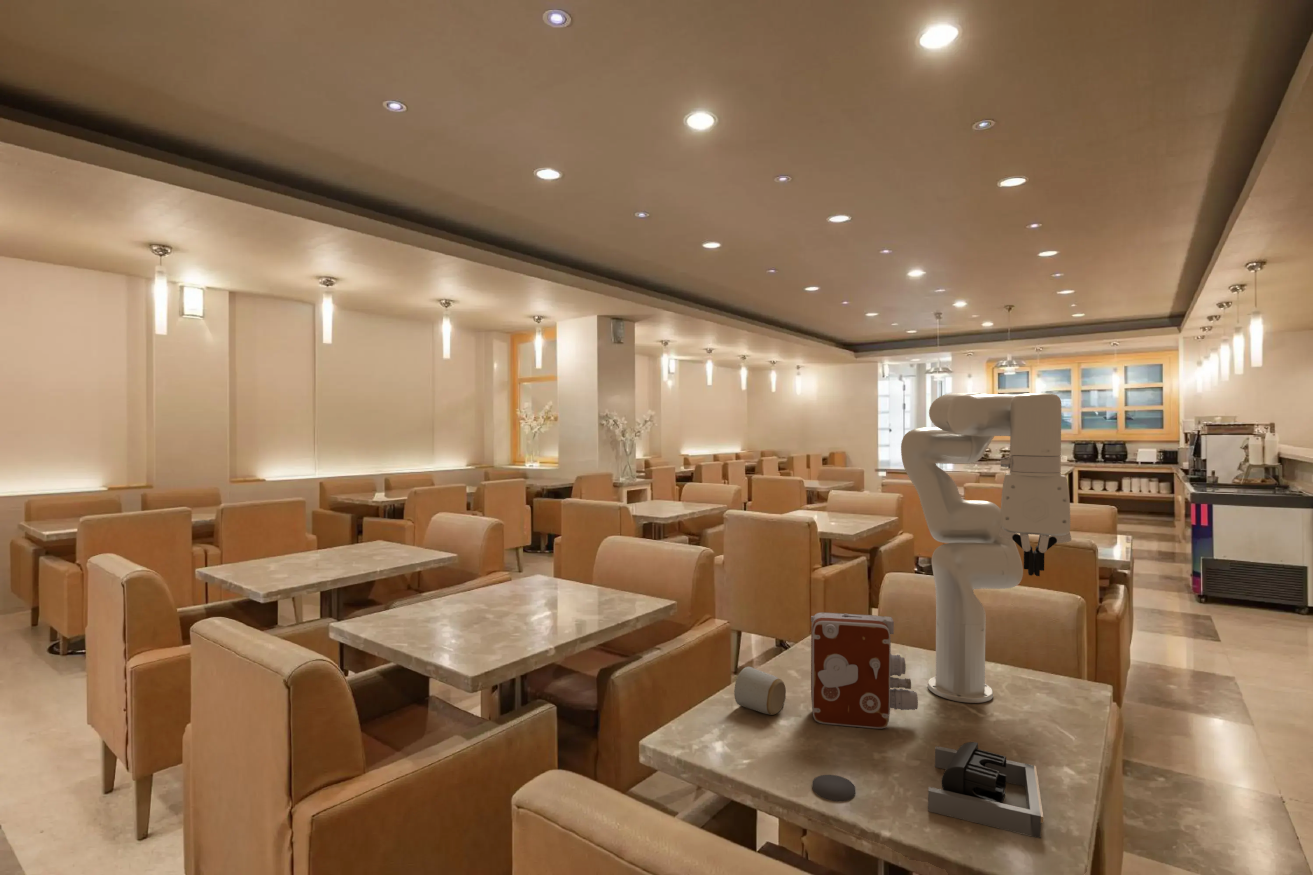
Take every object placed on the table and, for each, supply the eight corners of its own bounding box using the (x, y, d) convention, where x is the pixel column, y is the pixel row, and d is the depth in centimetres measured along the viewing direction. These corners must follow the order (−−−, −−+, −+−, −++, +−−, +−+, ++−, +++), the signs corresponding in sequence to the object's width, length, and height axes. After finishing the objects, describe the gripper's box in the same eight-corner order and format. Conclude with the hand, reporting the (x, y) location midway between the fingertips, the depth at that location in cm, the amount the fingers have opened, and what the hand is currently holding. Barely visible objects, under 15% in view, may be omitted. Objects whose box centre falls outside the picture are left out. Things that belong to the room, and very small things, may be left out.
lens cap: (817, 777, 107) (817, 770, 107) (858, 786, 104) (858, 780, 104) (807, 796, 101) (808, 790, 101) (851, 807, 98) (851, 800, 98)
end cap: (956, 778, 106) (957, 736, 106) (1006, 793, 102) (1006, 749, 102) (940, 807, 98) (941, 761, 98) (993, 824, 94) (994, 776, 94)
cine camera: (921, 736, 120) (922, 626, 120) (811, 726, 124) (812, 620, 124) (912, 715, 129) (913, 613, 129) (810, 706, 133) (810, 607, 133)
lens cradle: (935, 763, 110) (935, 745, 110) (1035, 784, 104) (1035, 765, 104) (928, 811, 97) (928, 790, 97) (1043, 838, 90) (1043, 816, 90)
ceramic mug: (769, 721, 126) (770, 681, 126) (732, 710, 131) (733, 671, 131) (795, 704, 134) (796, 666, 134) (760, 694, 139) (760, 658, 139)
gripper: (985, 466, 113) (984, 574, 113) (1090, 468, 106) (1088, 583, 106) (985, 464, 119) (984, 566, 120) (1084, 466, 113) (1082, 574, 113)
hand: (1033, 574), depth 113 cm, fingers closed
